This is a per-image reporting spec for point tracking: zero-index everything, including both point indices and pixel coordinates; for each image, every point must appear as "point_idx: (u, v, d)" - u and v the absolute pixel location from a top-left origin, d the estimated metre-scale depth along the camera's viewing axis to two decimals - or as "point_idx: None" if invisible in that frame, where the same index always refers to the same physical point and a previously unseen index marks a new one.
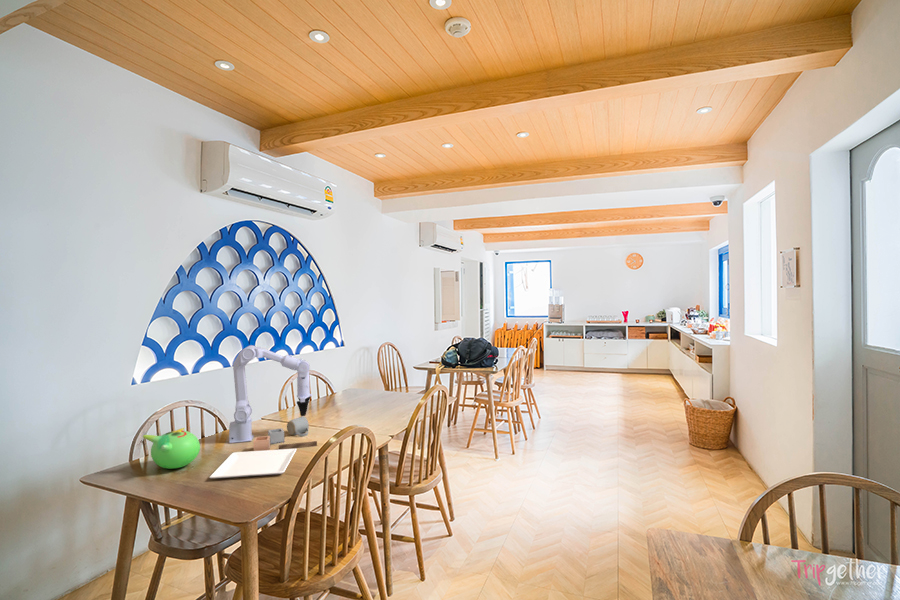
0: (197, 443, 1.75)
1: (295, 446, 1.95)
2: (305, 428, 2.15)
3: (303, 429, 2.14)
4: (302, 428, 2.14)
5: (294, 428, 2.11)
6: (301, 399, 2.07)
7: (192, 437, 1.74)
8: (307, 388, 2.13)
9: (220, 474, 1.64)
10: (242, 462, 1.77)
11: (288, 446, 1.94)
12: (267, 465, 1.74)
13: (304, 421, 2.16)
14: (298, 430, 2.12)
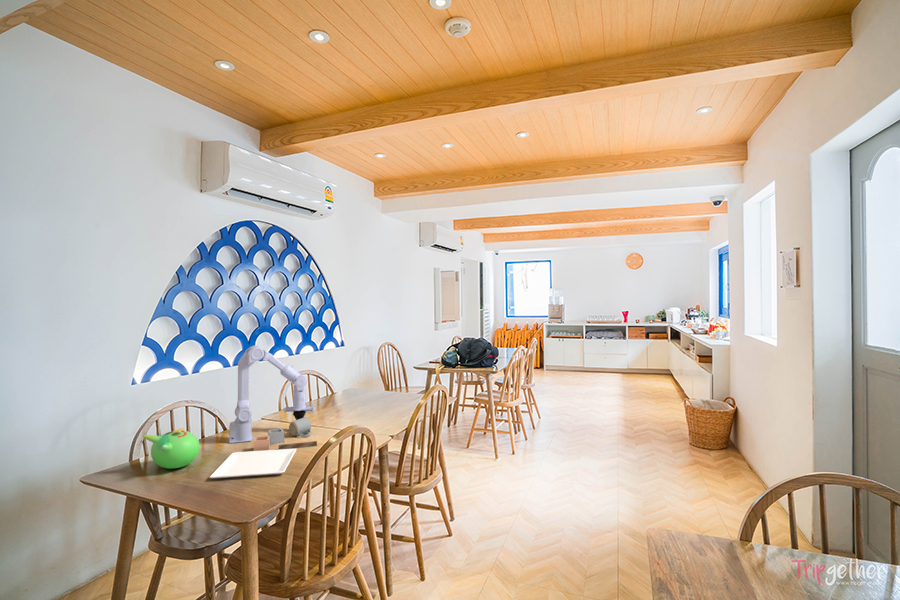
0: (197, 443, 1.75)
1: (295, 446, 1.95)
2: (307, 429, 2.13)
3: (305, 430, 2.13)
4: (304, 429, 2.12)
5: (296, 429, 2.09)
6: None
7: (192, 437, 1.74)
8: (294, 401, 2.18)
9: (220, 474, 1.64)
10: (242, 462, 1.77)
11: (288, 446, 1.94)
12: (267, 465, 1.74)
13: (307, 422, 2.14)
14: (300, 431, 2.10)
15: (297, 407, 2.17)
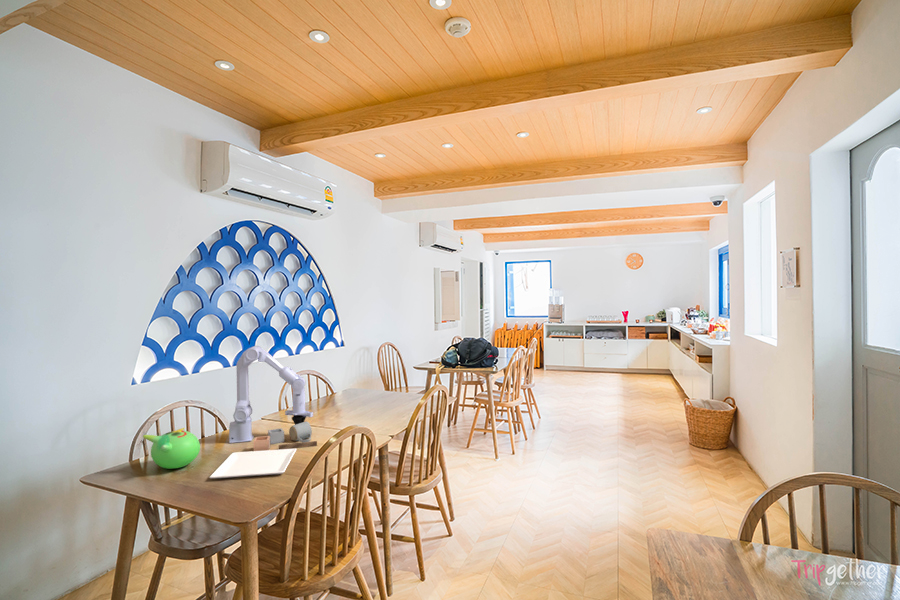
0: (197, 443, 1.75)
1: (295, 446, 1.95)
2: (308, 434, 2.05)
3: (306, 435, 2.05)
4: (304, 434, 2.04)
5: (296, 434, 2.02)
6: None
7: (192, 437, 1.74)
8: None
9: (220, 474, 1.64)
10: (242, 462, 1.77)
11: (288, 446, 1.94)
12: (267, 465, 1.74)
13: (307, 426, 2.06)
14: (300, 436, 2.03)
15: (295, 411, 2.09)
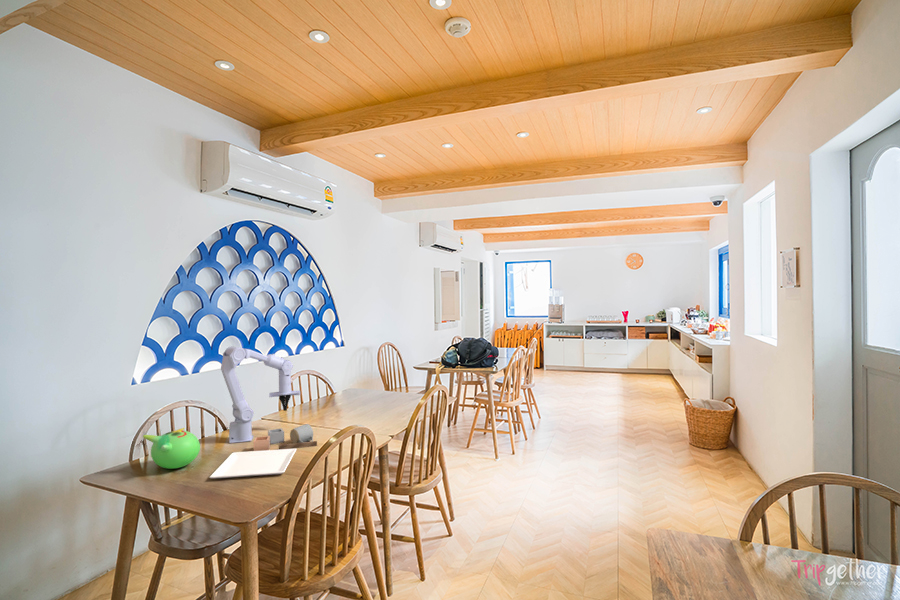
0: (197, 443, 1.75)
1: (295, 446, 1.95)
2: (309, 437, 2.02)
3: (307, 438, 2.01)
4: (306, 437, 2.00)
5: (298, 437, 1.98)
6: None
7: (192, 437, 1.74)
8: (280, 386, 2.19)
9: (220, 474, 1.64)
10: (242, 462, 1.77)
11: (288, 446, 1.94)
12: (267, 465, 1.74)
13: (309, 429, 2.02)
14: (302, 439, 1.99)
15: (284, 391, 2.19)
